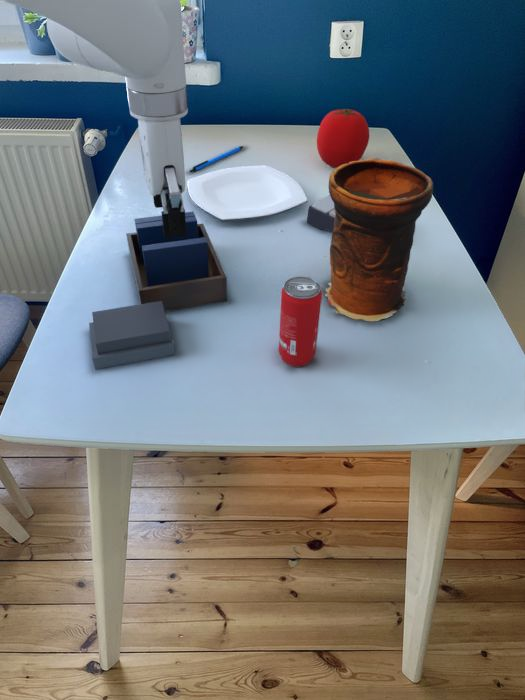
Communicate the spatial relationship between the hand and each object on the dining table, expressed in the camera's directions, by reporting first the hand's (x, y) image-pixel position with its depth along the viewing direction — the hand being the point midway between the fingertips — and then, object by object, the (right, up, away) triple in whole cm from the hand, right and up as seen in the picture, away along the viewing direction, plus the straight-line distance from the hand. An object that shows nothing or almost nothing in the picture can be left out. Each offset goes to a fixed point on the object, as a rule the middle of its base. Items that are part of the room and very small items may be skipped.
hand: (169, 220), depth 81 cm
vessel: (+30, -11, +7) cm, 33 cm away
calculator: (+32, +4, +23) cm, 40 cm away
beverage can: (+19, -21, -5) cm, 28 cm away
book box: (-1, -7, +9) cm, 12 cm away
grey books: (-5, -19, -3) cm, 19 cm away
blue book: (0, -8, +8) cm, 11 cm away
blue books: (-2, -3, +13) cm, 14 cm away
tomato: (+32, +24, +45) cm, 60 cm away
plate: (+10, +12, +32) cm, 35 cm away
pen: (+3, +25, +46) cm, 53 cm away
